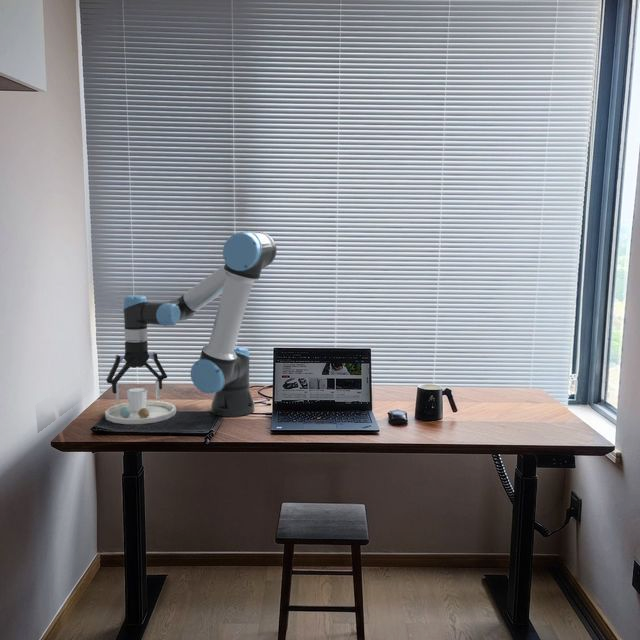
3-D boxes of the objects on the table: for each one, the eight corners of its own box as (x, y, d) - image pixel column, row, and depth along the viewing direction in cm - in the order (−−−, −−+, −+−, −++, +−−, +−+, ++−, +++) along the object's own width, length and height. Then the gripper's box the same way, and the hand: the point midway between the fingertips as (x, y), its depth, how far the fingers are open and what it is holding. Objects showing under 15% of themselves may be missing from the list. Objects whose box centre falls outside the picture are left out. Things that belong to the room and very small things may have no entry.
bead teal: (130, 415, 215) (129, 405, 215) (131, 418, 212) (131, 407, 212) (119, 416, 214) (119, 406, 213) (120, 419, 211) (120, 408, 210)
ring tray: (168, 404, 232) (167, 398, 232) (182, 422, 212) (182, 414, 211) (101, 411, 223) (101, 404, 222) (110, 430, 202) (109, 422, 202)
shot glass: (149, 410, 221) (148, 391, 220) (128, 412, 218) (127, 393, 217) (146, 405, 227) (145, 386, 226) (126, 407, 224) (125, 388, 223)
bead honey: (148, 416, 214) (148, 406, 214) (150, 419, 211) (149, 409, 211) (137, 417, 213) (137, 407, 212) (139, 420, 210) (139, 410, 209)
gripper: (170, 336, 228) (171, 394, 231) (96, 340, 217) (99, 401, 220) (174, 339, 221) (175, 399, 224) (99, 344, 211) (101, 406, 213)
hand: (137, 400), depth 222 cm, fingers open, 13 cm apart
